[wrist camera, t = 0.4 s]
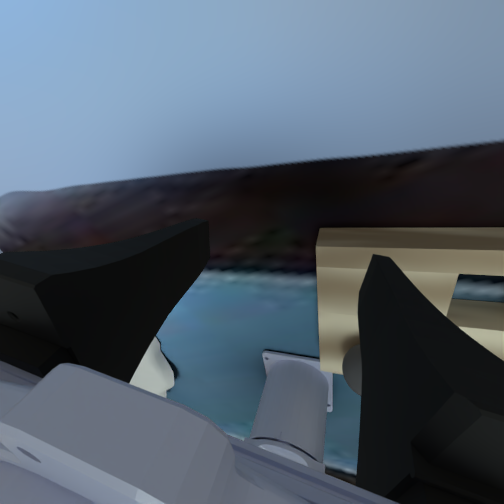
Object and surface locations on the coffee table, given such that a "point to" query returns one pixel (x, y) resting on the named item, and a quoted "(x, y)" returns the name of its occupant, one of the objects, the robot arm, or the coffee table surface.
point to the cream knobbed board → (419, 273)
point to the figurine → (154, 371)
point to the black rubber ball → (353, 368)
